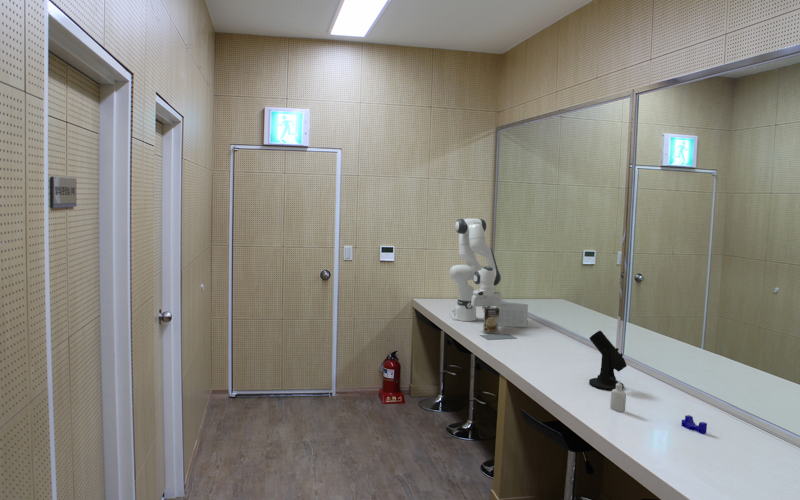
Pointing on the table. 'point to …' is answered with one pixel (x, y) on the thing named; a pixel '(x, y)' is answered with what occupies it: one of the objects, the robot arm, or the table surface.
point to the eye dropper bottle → (618, 398)
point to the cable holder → (694, 425)
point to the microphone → (607, 363)
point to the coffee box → (491, 320)
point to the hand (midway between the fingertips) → (485, 313)
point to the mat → (498, 336)
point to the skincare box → (513, 314)
